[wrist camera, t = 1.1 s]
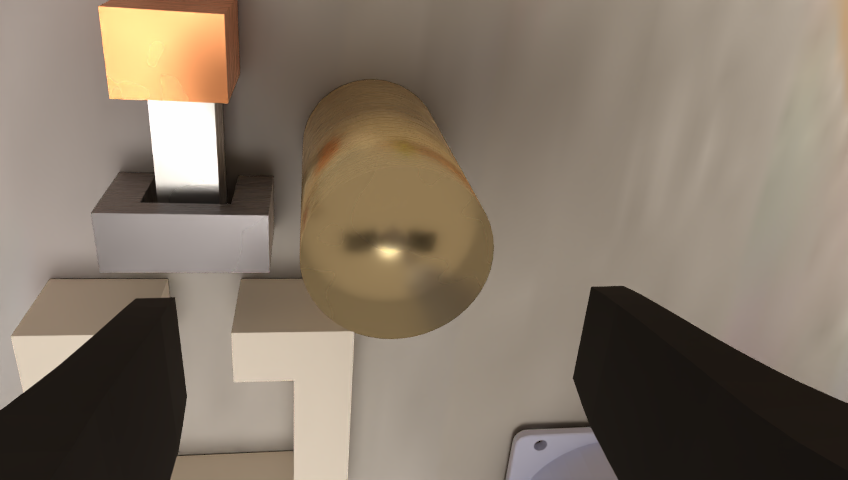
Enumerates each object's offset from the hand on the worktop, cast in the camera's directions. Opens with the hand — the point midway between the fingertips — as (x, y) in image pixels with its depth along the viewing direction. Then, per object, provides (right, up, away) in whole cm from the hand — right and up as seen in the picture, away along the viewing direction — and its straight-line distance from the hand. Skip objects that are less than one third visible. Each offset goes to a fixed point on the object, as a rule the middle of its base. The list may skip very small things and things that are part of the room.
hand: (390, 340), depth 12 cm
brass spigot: (-1, +4, +8) cm, 10 cm away
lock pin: (-6, +5, +7) cm, 11 cm away
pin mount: (-6, +3, +8) cm, 11 cm away
